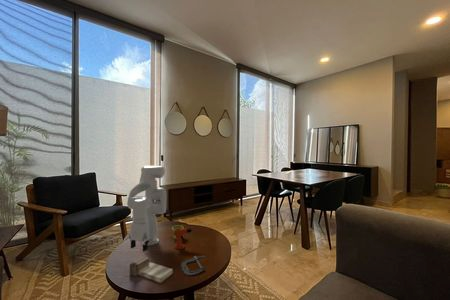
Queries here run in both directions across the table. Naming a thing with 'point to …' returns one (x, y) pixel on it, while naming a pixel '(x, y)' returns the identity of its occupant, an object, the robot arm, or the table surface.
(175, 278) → the table surface
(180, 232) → the toy drill
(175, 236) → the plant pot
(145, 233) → the robot arm
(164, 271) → the board
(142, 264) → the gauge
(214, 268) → the table surface
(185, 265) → the c clamp
